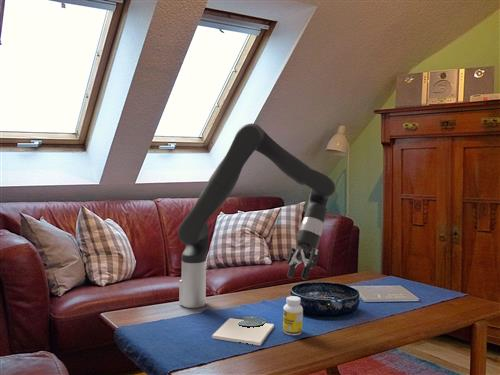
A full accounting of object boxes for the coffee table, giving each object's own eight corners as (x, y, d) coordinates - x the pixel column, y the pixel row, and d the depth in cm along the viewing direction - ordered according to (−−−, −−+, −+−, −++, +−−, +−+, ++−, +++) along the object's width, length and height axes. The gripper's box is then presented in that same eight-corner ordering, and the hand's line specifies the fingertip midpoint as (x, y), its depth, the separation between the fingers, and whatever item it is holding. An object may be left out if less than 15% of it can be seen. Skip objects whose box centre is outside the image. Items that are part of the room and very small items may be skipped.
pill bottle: (279, 329, 164) (280, 296, 163) (296, 327, 166) (297, 294, 165) (287, 337, 158) (288, 302, 157) (305, 334, 160) (306, 300, 159)
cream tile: (212, 338, 156) (212, 335, 156) (229, 320, 171) (229, 318, 171) (260, 345, 151) (260, 342, 151) (273, 327, 166) (273, 324, 166)
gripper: (289, 229, 172) (276, 273, 167) (313, 228, 159) (299, 275, 155) (306, 237, 175) (293, 280, 170) (331, 236, 162) (318, 283, 158)
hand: (296, 278), depth 162 cm, fingers open, 8 cm apart
